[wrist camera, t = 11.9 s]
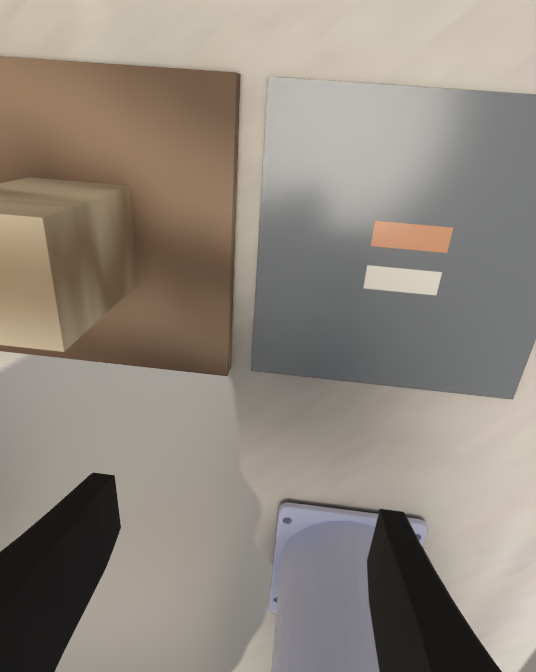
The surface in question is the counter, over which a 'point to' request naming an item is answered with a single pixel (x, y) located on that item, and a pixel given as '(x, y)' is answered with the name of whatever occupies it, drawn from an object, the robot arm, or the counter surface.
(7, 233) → the maple block
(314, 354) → the tile
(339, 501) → the counter surface
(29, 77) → the board
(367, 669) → the robot arm
